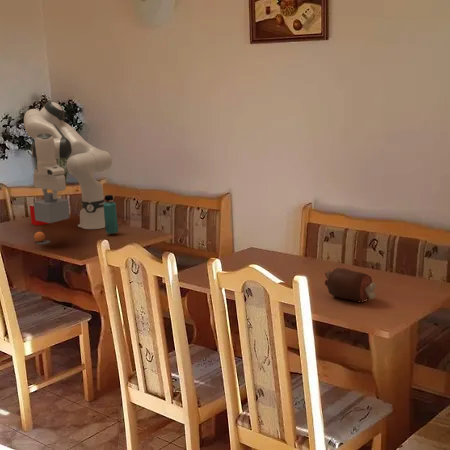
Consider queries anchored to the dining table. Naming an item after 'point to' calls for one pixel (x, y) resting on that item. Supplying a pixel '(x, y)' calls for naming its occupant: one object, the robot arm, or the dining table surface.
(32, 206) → the mug
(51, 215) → the gray lidded box
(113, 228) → the beverage bottle
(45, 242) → the disc
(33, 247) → the dining table surface
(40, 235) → the ball
